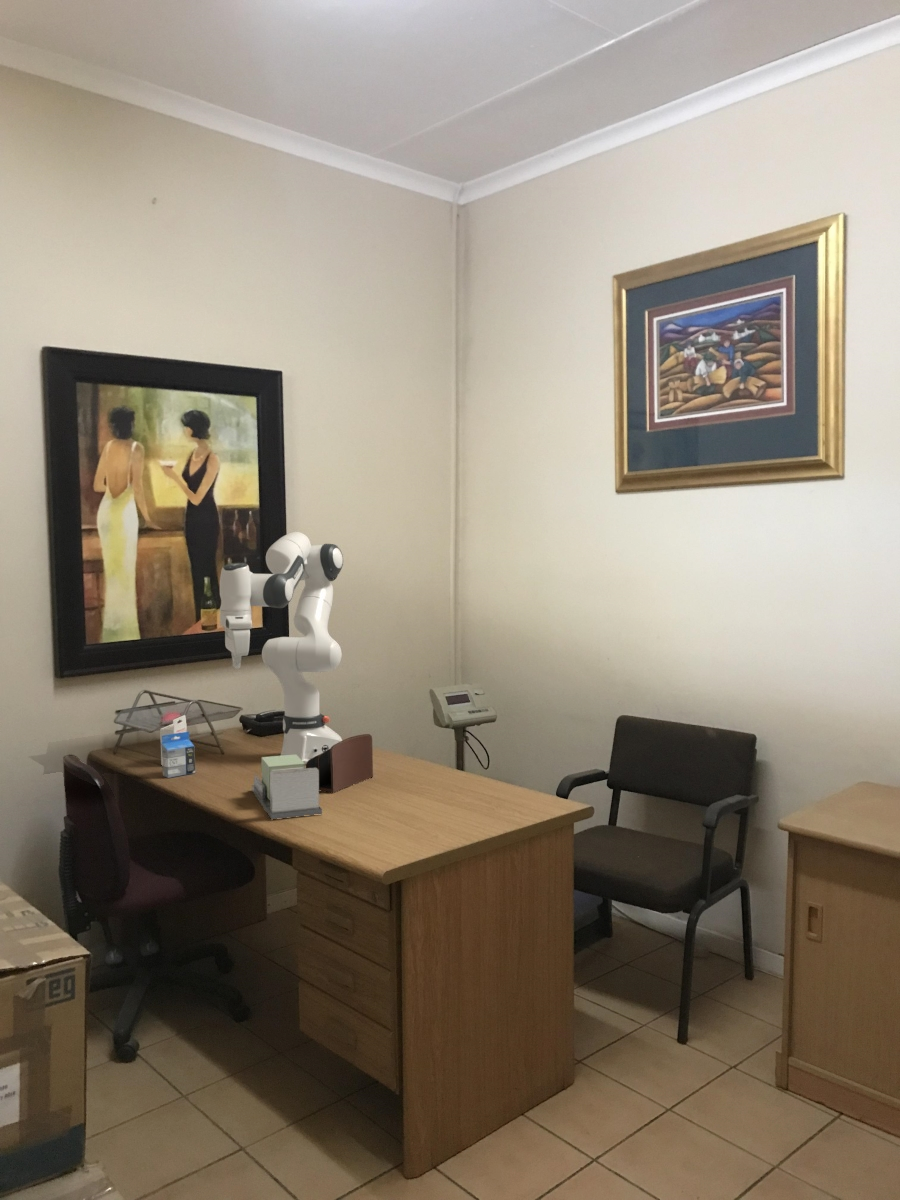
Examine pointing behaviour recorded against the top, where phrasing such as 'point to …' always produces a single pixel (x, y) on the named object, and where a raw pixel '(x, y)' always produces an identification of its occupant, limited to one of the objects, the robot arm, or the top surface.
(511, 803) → the top surface
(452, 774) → the top surface
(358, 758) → the letter holder
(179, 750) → the label tape box
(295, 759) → the pale green block
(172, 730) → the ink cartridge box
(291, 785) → the tray
